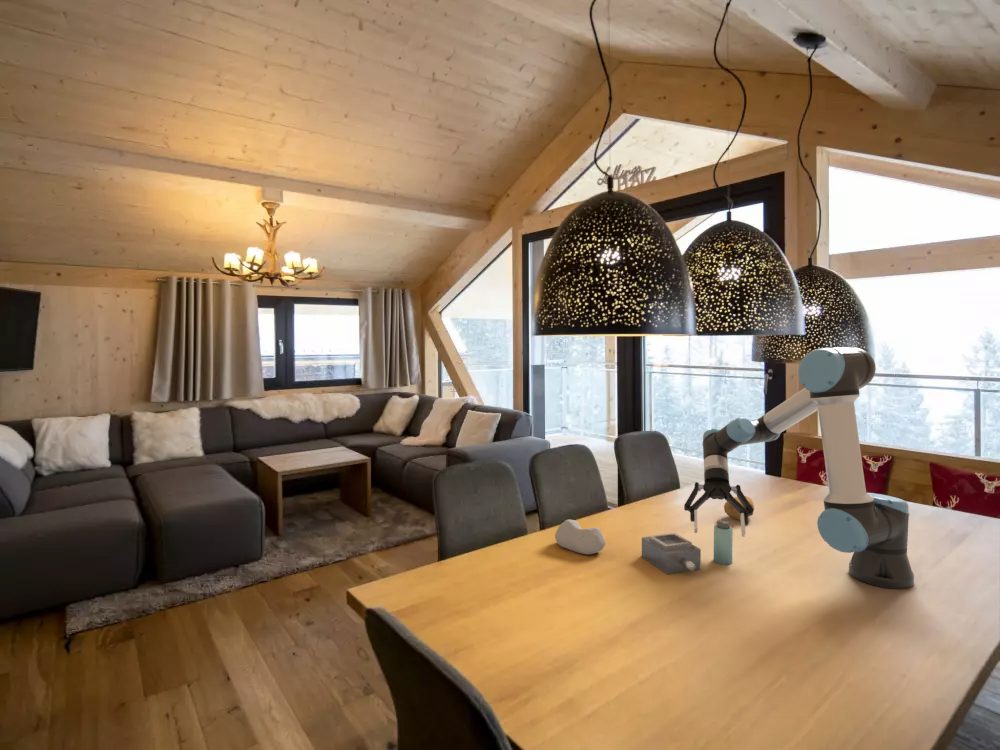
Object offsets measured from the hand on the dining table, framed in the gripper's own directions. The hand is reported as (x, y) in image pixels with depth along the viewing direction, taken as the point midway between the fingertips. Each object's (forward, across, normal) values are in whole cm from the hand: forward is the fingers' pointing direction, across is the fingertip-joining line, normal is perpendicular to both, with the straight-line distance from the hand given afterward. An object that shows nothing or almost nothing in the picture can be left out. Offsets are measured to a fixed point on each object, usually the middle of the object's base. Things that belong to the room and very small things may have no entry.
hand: (719, 532), depth 174 cm
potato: (-24, -11, -35) cm, 44 cm away
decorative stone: (+8, +42, -4) cm, 43 cm away
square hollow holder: (+11, +14, 0) cm, 18 cm away
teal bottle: (+7, -1, -4) cm, 8 cm away
